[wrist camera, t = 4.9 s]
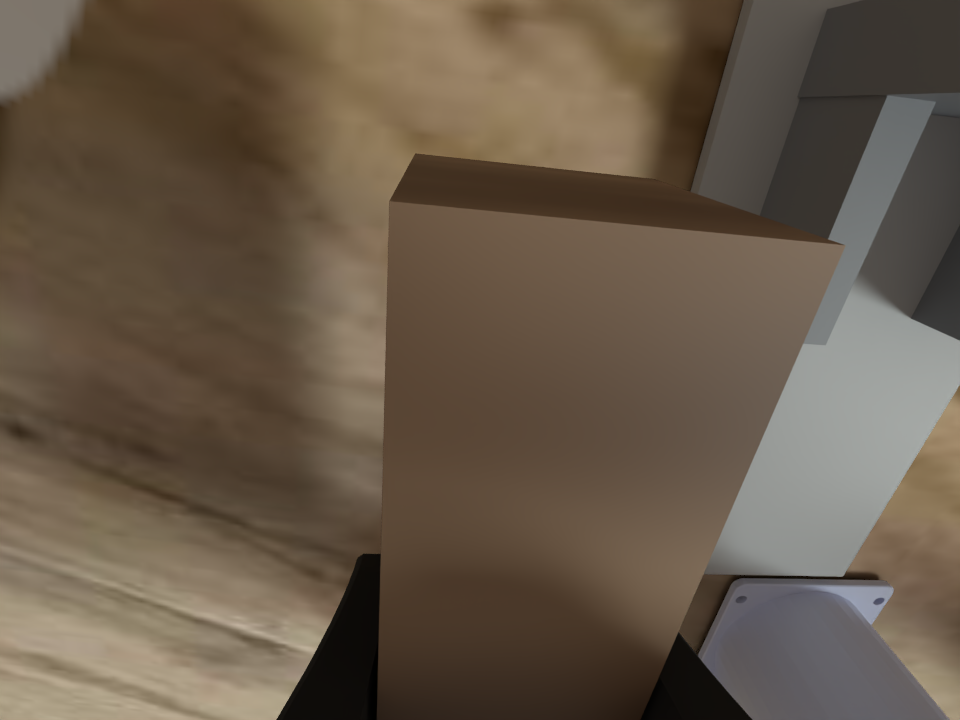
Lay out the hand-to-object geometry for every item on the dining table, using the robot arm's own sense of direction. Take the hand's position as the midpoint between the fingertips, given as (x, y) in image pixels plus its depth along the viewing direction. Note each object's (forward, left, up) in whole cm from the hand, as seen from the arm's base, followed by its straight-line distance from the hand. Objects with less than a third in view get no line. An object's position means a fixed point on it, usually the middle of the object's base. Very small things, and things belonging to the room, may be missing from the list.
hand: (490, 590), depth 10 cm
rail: (0, 0, -2) cm, 2 cm away
